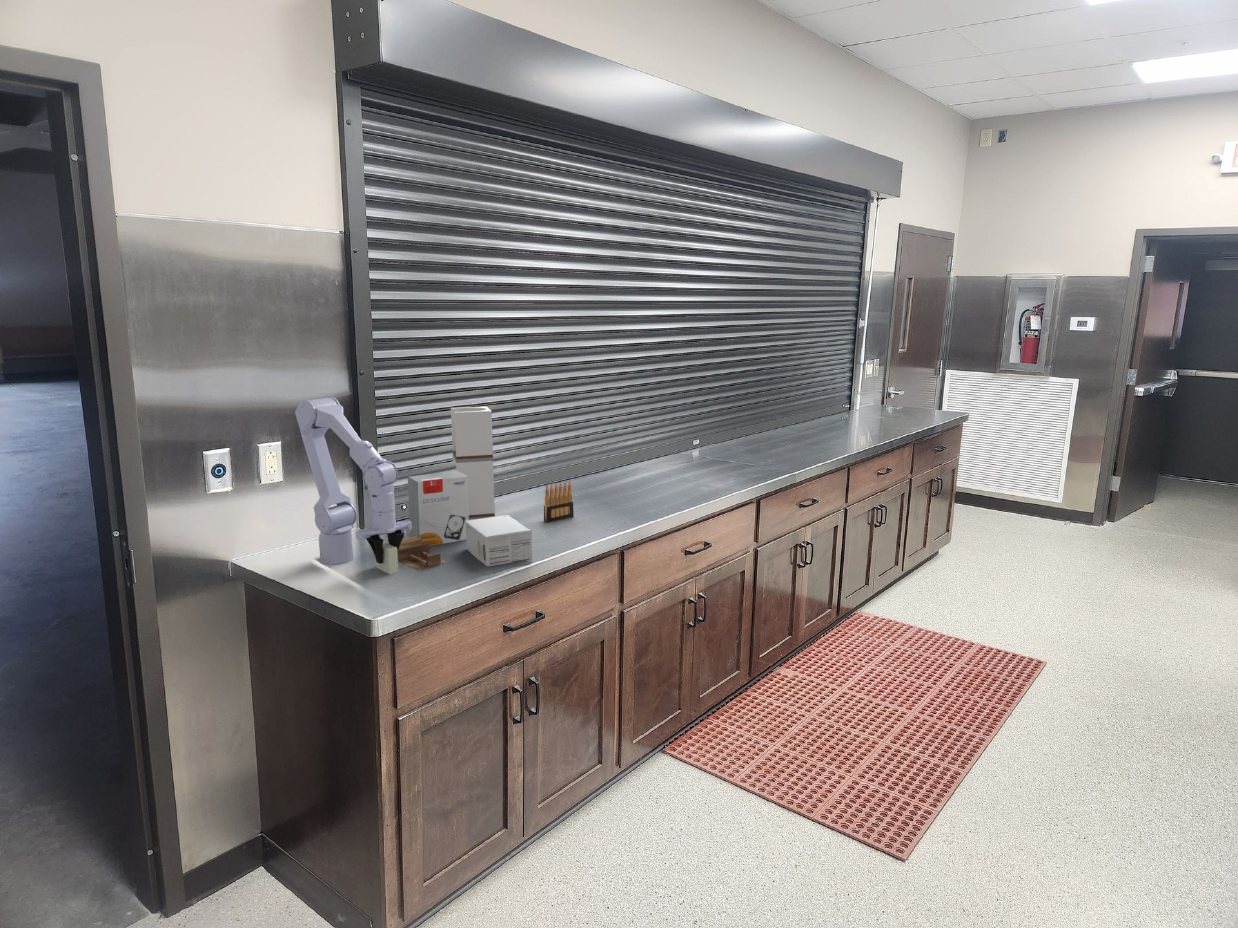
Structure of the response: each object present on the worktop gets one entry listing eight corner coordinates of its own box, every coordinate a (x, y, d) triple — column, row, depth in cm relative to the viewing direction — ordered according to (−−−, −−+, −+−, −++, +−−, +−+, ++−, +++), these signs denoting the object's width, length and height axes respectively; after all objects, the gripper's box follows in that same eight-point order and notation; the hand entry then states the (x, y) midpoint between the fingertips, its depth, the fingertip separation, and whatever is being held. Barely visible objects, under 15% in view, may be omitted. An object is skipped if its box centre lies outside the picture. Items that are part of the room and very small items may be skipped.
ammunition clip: (547, 522, 252) (546, 485, 249) (543, 521, 253) (542, 484, 251) (573, 516, 259) (573, 480, 256) (570, 515, 260) (570, 479, 257)
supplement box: (465, 552, 223) (464, 520, 221) (509, 545, 229) (508, 514, 227) (486, 570, 208) (485, 535, 206) (533, 562, 215) (532, 529, 213)
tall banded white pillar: (489, 511, 265) (486, 406, 258) (495, 519, 255) (491, 411, 248) (455, 513, 262) (450, 408, 255) (458, 522, 252) (454, 412, 245)
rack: (389, 559, 216) (389, 546, 215) (419, 552, 222) (418, 539, 221) (418, 573, 205) (417, 559, 205) (448, 565, 211) (447, 551, 211)
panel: (375, 568, 208) (374, 543, 206) (384, 566, 209) (382, 541, 208) (390, 576, 202) (388, 549, 201) (398, 573, 204) (397, 547, 203)
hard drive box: (418, 550, 224) (414, 481, 220) (409, 543, 230) (406, 476, 226) (470, 541, 232) (468, 475, 228) (461, 535, 238) (458, 470, 234)
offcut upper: (396, 548, 216) (395, 541, 215) (415, 543, 220) (414, 536, 219) (402, 551, 213) (402, 543, 213) (421, 546, 218) (421, 538, 217)
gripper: (363, 518, 195) (367, 571, 198) (416, 507, 205) (419, 558, 207) (350, 512, 200) (354, 564, 203) (403, 502, 210) (406, 552, 212)
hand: (386, 560), depth 205 cm, fingers open, 3 cm apart
